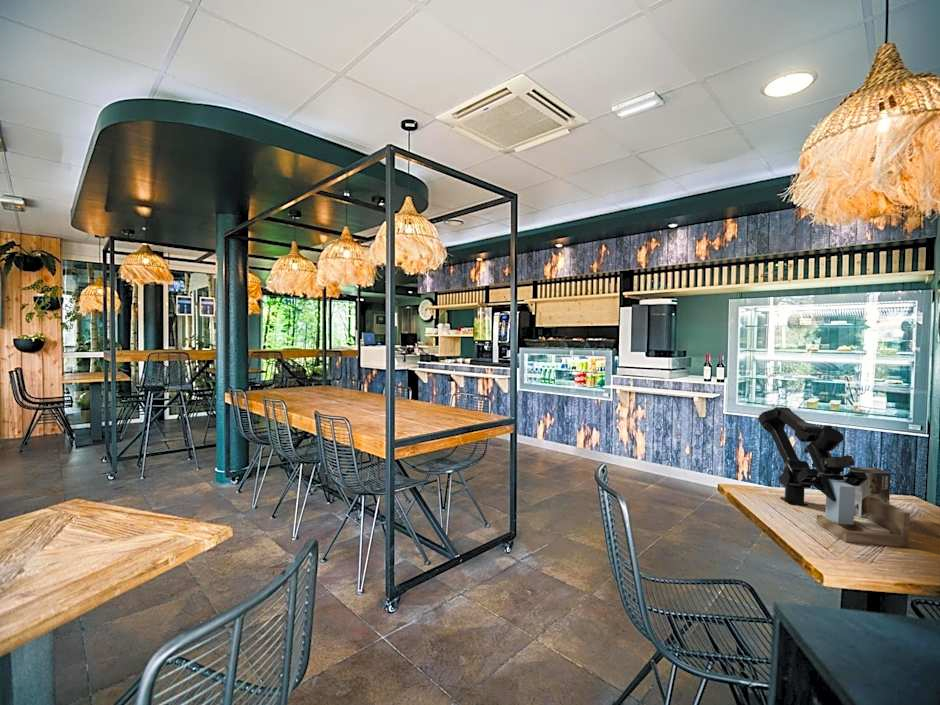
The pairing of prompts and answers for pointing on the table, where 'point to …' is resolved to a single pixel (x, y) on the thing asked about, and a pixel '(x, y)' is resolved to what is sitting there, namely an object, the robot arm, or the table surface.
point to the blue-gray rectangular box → (841, 503)
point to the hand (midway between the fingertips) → (843, 501)
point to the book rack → (873, 526)
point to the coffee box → (871, 489)
